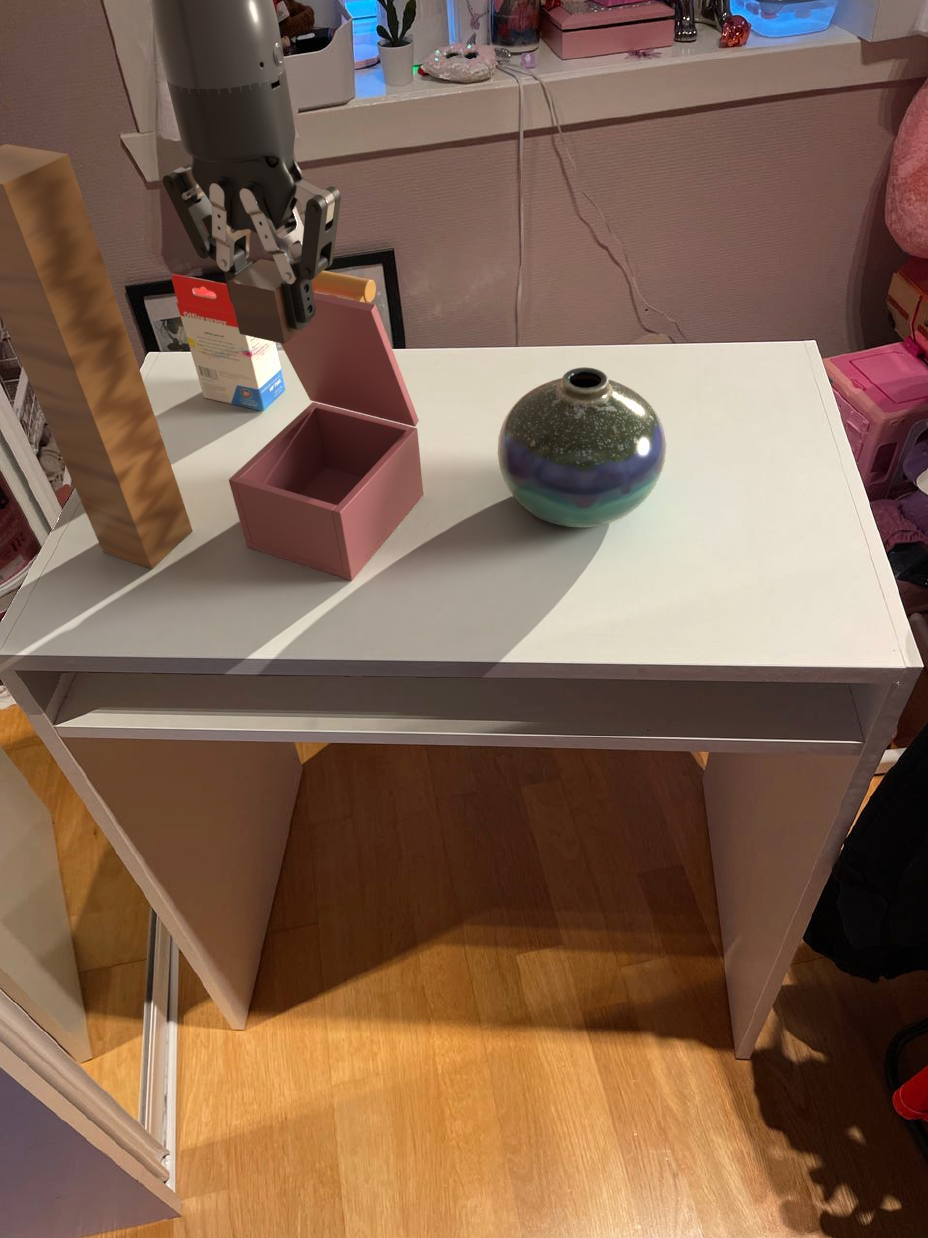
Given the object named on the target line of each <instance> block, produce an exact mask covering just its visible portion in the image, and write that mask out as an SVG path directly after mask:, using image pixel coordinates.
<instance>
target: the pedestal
mask: <svg viewBox="0 0 928 1238" xmlns="http://www.w3.org/2000/svg"><path fill="white" fill-rule="evenodd" d="M101 252H102V251H101V249H100V247H99V243H98V241H97V237H96V234H95V231H94V228H93V226H92V222H91V220H90V216H89V213H88V210H87V207H86V204H85V201H84V198H83V195H82V192H81V189H80V185H79V183H78V180H77V177H76V174H75V170H74V168H73V164H72V162H71V159H70V156H69V154H68V153H66V152H65V153H64V152H59V151H51V150H46V149H40V148H33V147H27V146H20V145H14V144H7V143H5V144H3V145H1V146H0V318H1V320H2V322H3V324H4V327H5V330H6V331H7V334H8V336H9V338H10V340H11V344H12V345H13V348H14V350H15V352H16V354H17V356H18V359H19V362H20V364H21V366H22V368H23V371H24V373H25V375H26V377H27V380H28V382H29V385H30V387H31V389H32V391H33V394H34V396H35V398H36V401H37V403H38V406H39V408H40V410H41V412H42V414H43V416H44V417H43V418H44V420H45V421H46V425H47V426H48V428H49V430H50V433H51V435H52V438H53V440H54V442H55V444H56V447H57V449H58V452H59V454H60V456H61V458H62V461H63V463H64V465H65V468H66V470H67V472H68V475H69V477H70V479H71V482H72V484H73V486H74V489H75V490H76V493H77V495H78V497H79V500H80V503H81V504H82V508H83V509H84V511H85V514H86V516H87V518H88V521H89V523H90V526H91V528H92V530H93V533H94V534H95V537H96V539H97V542H98V544H99V546H100V548H101V550H102V551H101V552H103V553H105V554H108V555H110V556H114V557H116V558H119V559H122V560H125V561H128V562H131V563H133V564H136V565H139V566H141V567H145V568H148V569H150V570H153V569H154V568H156V566H158V564H160V562H162V561H163V560H164V559H165V558H166V557H167V556H168V555H169V554H170V553H171V552H173V550H174V549H175V548H176V547H178V546H179V545H180V544H181V543H182V542H183V541H185V539H186V538H188V536H189V535H190V534H191V533H193V531H194V529H193V527H192V524H191V521H190V518H189V515H188V511H187V508H186V506H185V502H184V500H183V497H182V494H181V491H180V488H179V484H178V481H177V479H176V475H175V473H174V470H173V465H172V463H171V462H170V461H171V460H170V458H169V455H168V452H167V449H166V446H165V442H164V439H163V436H162V434H161V430H160V428H159V424H158V421H157V419H156V415H155V412H154V410H153V407H152V403H151V399H150V397H149V393H148V390H147V388H146V386H145V383H144V379H143V376H142V373H141V370H140V368H139V363H138V361H137V358H136V355H135V352H134V349H133V346H132V343H131V340H130V337H129V334H128V331H127V328H126V324H125V322H124V318H123V316H122V313H121V309H120V307H119V304H118V301H117V298H116V295H115V291H114V289H113V286H112V281H111V280H110V276H109V273H108V270H107V267H106V264H105V262H104V258H103V256H102V253H101Z"/></svg>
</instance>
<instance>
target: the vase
mask: <svg viewBox="0 0 928 1238" xmlns="http://www.w3.org/2000/svg"><path fill="white" fill-rule="evenodd" d="M666 453H667V441H666V433H665V429H664V427H663V423H662V421H661V419H660V417H659V415H658V413H657V412H656V410H655V408H654V407H653V406H652V405H651V403H649V401H648V400H646V398H645V397H643V396H642V395H641V394H639V392H636V391H635V390H634V389H633V388H630V387H628V386H626V385H624V384H622V383H621V382H617V381H615V380H612V379H610V378H609V377H608V375H607V374H606V373H605V372H603V371H602V370H601V369H597V368H594V367H586V366H585V367H584V366H582V367H575V368H573V369H570V370H568V371H567V372H565V373H564V374H563V376H562V377H560V378H556V379H552V380H550V381H548V382H545V383H542V384H540V385H538V386H535V388H533V389H531V390H529V391H528V392H527V393H525V394H524V395H523V396H521V397H520V398H519V399H518V401H516V403H514V405H513V406H512V407H510V410H509V411H508V413H507V414H506V415H505V417H504V419H503V421H502V424H501V427H500V430H499V434H498V440H497V459H498V464H499V470H500V472H501V476H502V479H503V481H504V483H505V485H506V487H507V488H508V490H509V492H510V493H511V495H512V496H513V497H514V498H515V499H516V501H517V502H518V503H519V504H520V505H521V506H522V507H523V508H524V509H525V510H526V511H528V512H529V513H531V514H532V515H533V516H535V517H537V518H538V519H541V520H543V521H546V522H547V523H551V524H554V525H557V526H562V527H568V528H595V527H599V526H604V525H607V524H611V523H614V522H616V521H618V520H620V519H623V518H624V517H626V516H628V515H629V514H631V513H632V512H634V511H635V510H636V509H638V508H639V507H640V506H641V505H642V504H643V503H644V502H645V501H646V499H647V498H648V497H649V496H650V494H651V493H652V492H653V491H654V489H655V488H656V486H657V484H658V481H659V479H660V477H661V476H662V475H661V474H662V472H663V469H664V466H665V462H666Z"/></svg>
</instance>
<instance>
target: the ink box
mask: <svg viewBox="0 0 928 1238" xmlns="http://www.w3.org/2000/svg"><path fill="white" fill-rule="evenodd" d="M171 282H172V286H173V290H174V293H175V297H176V306H177V309H178V313H179V316H180V320H181V322H182V327H183V329H184V333H185V336H186V340H187V343H188V347H189V350H190V353H191V357H192V361H193V365H194V367H195V370H196V374H197V377H198V381H199V384H200V386H201V387H200V388H201V391H202V394H203V397H204V398H206V399H208V400H209V399H210V400H213V401H218V402H221V403H226V404H230V405H235V406H239V407H243V408H246V409H247V408H248V409H252V410H256V411H261V412H265V411H266V410H267V409H268V408H269V407H270V406H271V405H272V404H273V403H274V402H275V401H276V400H277V399H279V397H281V395H282V394H284V393H285V391H286V385H285V381H284V376H283V371H282V366H281V363H280V362H281V361H280V358H279V355H278V349H277V345H276V342H273V341H268V340H264V339H260V338H255V337H251V336H246V335H242V334H240V333H239V328H238V324H237V320H236V316H235V311H234V307H233V305H232V303H231V300H230V296H229V292H228V288H227V283H224V282H219V281H218V282H217V281H213V280H209V279H203V278H197V277H194V276H193V277H192V276H186V275H181V274H175V273H171Z"/></svg>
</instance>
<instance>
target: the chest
mask: <svg viewBox="0 0 928 1238" xmlns="http://www.w3.org/2000/svg"><path fill="white" fill-rule="evenodd" d="M418 431H419V430H418V428H417V427H414V426H410V425H406V424H402V423H398V422H394V421H390V420H386V419H382V418H378V417H374V416H370V415H366V414H362V413H358V412H354V411H350V410H346V409H342V408H338V407H335V406H331V405H327V404H323V403H319V402H315V401H311V403H310V404H309V405H308V406H307V407H306V408H304V409H303V411H301V412H300V413H299V414H298V415H296V417H295V418H294V419H293V420H291V421H290V422H289V423H288V424H287V425H286V426H285V427H284V428H283V429H282V430H280V432H279V433H278V434H276V435H275V436H274V437H273V438H271V440H270V441H269V442H267V444H266V445H264V446H263V447H262V448H261V449H260V450H259V451H258V452H256V454H254V455H253V456H252V457H251V458H250V459H249V460H248V461H247V462H245V464H244V465H243V466H241V468H239V469H238V470H237V471H236V472H235V473H234V474H233V475H232V476H231V477H230V478H228V483H229V487H230V491H231V494H232V498H233V500H234V501H233V502H234V505H235V509H236V513H237V516H238V519H239V522H240V526H241V529H242V533H243V536H244V540H245V544H246V547H248V548H251V549H253V550H256V551H259V552H263V553H264V554H265V553H266V554H268V555H272V556H275V557H278V558H281V559H283V560H286V561H290V562H293V563H297V564H299V565H302V566H305V567H309V568H311V569H314V570H317V571H321V572H324V573H327V574H330V575H333V576H335V577H339V578H343V579H345V580H348V581H351V582H352V581H353V580H354V579H355V578H356V577H357V576H358V575H359V573H360V572H361V571H362V570H363V568H364V567H365V566H366V565H367V564H368V562H369V561H370V560H372V558H373V556H374V555H375V554H377V552H378V551H379V549H380V548H381V547H382V546H383V544H384V543H386V541H387V540H388V539H389V537H390V536H391V535H392V533H393V532H394V531H395V530H397V527H398V526H399V525H400V524H401V523H402V522H403V520H404V519H405V518H406V517H407V515H409V513H410V512H411V510H412V509H413V508H414V507H415V506H416V505H417V504H418V502H419V501H420V500H421V499H422V497H423V496H424V488H423V486H424V485H423V476H422V465H421V454H420V444H419V443H420V442H419V432H418Z"/></svg>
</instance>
